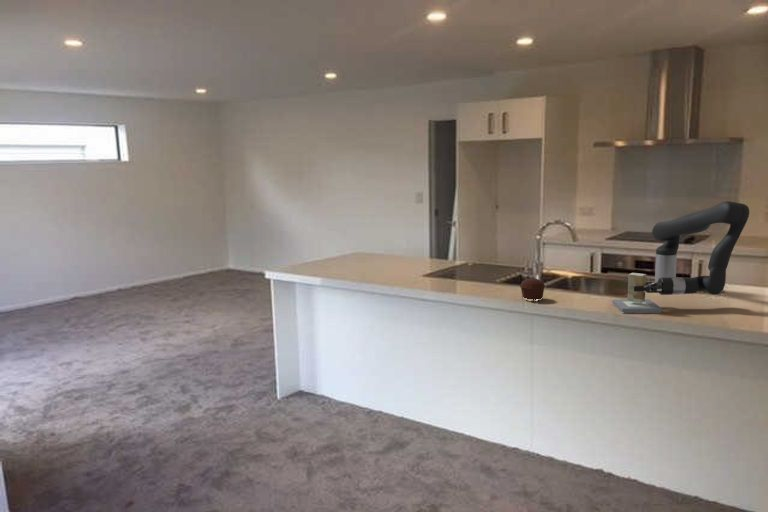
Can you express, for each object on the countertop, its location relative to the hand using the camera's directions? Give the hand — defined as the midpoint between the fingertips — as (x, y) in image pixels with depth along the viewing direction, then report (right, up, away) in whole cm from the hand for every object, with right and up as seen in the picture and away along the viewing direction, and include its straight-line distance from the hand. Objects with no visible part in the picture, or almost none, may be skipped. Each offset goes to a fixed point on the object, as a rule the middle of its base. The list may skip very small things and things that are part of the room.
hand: (631, 286), depth 253 cm
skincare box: (+2, -7, +1) cm, 7 cm away
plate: (+2, -9, +1) cm, 10 cm away
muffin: (-37, -8, +24) cm, 45 cm away
